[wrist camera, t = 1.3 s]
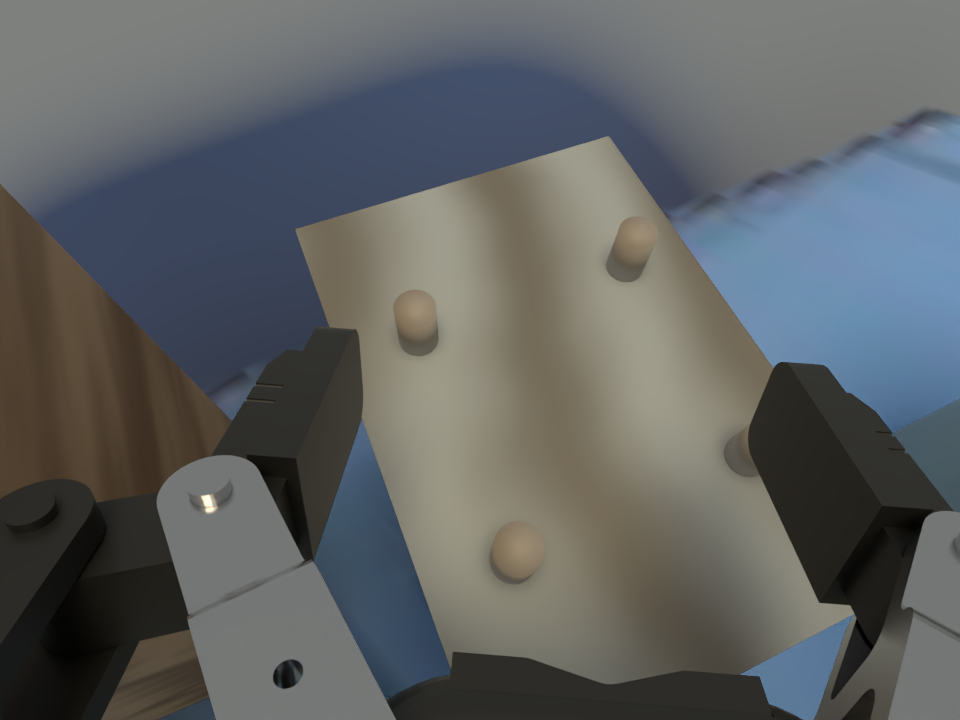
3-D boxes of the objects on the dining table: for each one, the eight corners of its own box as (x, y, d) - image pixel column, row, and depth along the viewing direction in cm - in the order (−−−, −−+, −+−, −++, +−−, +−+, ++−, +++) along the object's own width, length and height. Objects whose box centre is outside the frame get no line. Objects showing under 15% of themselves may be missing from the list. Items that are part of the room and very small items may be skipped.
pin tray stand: (540, 378, 41) (620, 95, 21) (665, 621, 34) (976, 568, 14) (377, 439, 39) (280, 191, 18) (476, 715, 32) (503, 822, 11)
